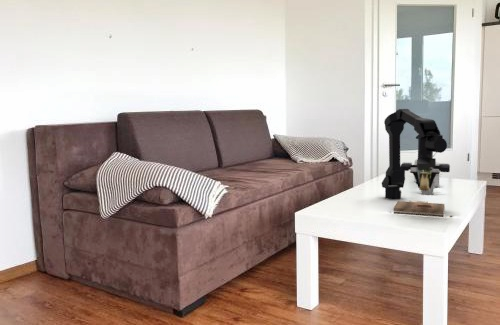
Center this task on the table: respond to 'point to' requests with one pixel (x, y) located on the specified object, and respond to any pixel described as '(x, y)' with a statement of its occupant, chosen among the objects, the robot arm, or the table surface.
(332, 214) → the table surface
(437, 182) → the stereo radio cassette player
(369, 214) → the table surface
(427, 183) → the brass peg
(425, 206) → the walnut board
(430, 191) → the house plant
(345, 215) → the table surface
